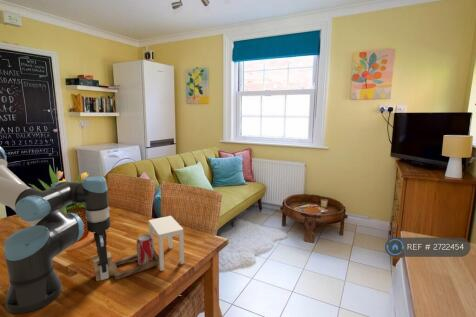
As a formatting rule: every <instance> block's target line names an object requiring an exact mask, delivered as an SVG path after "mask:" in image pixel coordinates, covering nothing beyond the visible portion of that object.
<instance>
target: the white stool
mask: <svg viewBox="0 0 476 317" xmlns="http://www.w3.org/2000/svg"><path fill="white" fill-rule="evenodd" d="M148 235H150V236H151V238H152V240H153V248H154V249H155V238H154V236H156V237H157V241H158V244H157V245H158V256H159V265H158V267H159V271H161V272H162V271H164V270H165V254H164V252H165V251H164V239H167V238H168V239H167V240H168V249H173V248H174V245H173V243H174V242H173V241H174V239H173V237H175V236H178V245H179V246H178V249H179V250H178V253H179V254H178V255H179V264H180V265H184V264H185V236H184V235H185V234H184V228H183V227H182V225H180V223H179V222H177V220H176V219H175V218H174V217H173V216H172V215H167V216H163V217H159V218H158V217H157V218H153V219H149V220H148Z"/></svg>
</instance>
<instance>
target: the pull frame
mask: <svg viewBox="0 0 476 317" xmlns="http://www.w3.org/2000/svg"><path fill="white" fill-rule="evenodd" d="M153 258H154V261H152V262H149V263H146V264H143V265H140V266H139V265H137V266H134V267H132V268H128V269H126V270H122V271H121V272H119V270H118V267H117V266H120V265H123V264H126V263H128V262H131V261H135V260H138V258H137V253H135V254H131V255H129V256H126V257H121V258H119V259H117V260H114V261H113V260H112V254H111V251H107V260H108V274H109V277H113V276H114V280H116V281H117V280H121V279H123V278H125V277H128V276H131V275H134V274H137V273H139V272H142V271H145V270H147V269H150V268H153V267H157V266H159V254H158V253H157V252H156V250H155V247H154V248H153ZM92 261H93V269H94V275H95V280H96V282H98V281H102V280H101V277H100V267H99V266H98V265H97V264H99V263H100V262H99V255H98V254H97V255H94V256H92Z"/></svg>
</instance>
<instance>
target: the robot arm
mask: <svg viewBox="0 0 476 317" xmlns="http://www.w3.org/2000/svg"><path fill="white" fill-rule="evenodd" d="M5 153H6V152H5V150H4V147H2V146H0V204H1V205H4V206H7V207H9V208H11V209H12V210H13V211H14V212H15V214H16V215H17V217H19V218H20V219H21V220H22V221H24V222H26V223H28V225H30V226H27V227H26V228H25V227H24V228H22V229H21V228H20V230H17V231H15V232H13V233H12V234H10V235H9V236H8V237H7V238H6V240H5V242H4V243H3V244H4V245H3V246H4V247H3V249H4V252H3V254H4V258H5V263H6V267H7V276H8V279H9V285H8V289H7V293H6V297H5V301H4V302H5V308H6V311H7V312H8V313H12V314H25V313H29V312H33V311H36V310H39V309H41V308H43V307H46V306H48V305H49V304H50V303H52V302H54V301H55V300H56V299H57V298H58V297H59V296H60V294H61V293H62V291H63V286H62V281H61V279H60V277H59V276H58V275H57V273H56V271H55V269H54V264H53V263H54V262H53V259H54V258H55V257H56V256H58V255H60V254H61V253H62V252H64V251H65V250H67V249H68V248H69V247H72V246H73V245H74V244H76V242H78V241H79V240H80V239H81V238H82V236H83V234H84V232H85V228H84V227H85V225H84V222H83V220H82V218H81V217H80V216H79V215H78V214H76V213H74V212H67V213H65V211H63V210H62V208H64V207H67V206H69V205H70V204H84V208H85V218H86V226H87V231H89V233H93V238H94V243H95V247H96V254H97V256H98V255H99V262H100V263H99V264H97V265H98V266H99V267H100V277H101V280H100V281H103V280H107V279H109V274H108V260H107V252H108V250H107V245H108V244H107V242H108V241H107V238H108V237H107V235H108V234H107V232H106V230H108V229H110V227H111V218H110V211H111V207H109V195H108V184H107V180H106V177H104V176H98V175H97V176H89V177H85V178H84V179H83V180H82V182H74V181H58V182H54V183H53V184H52V186H50V187H49V188H48V189H45V190H38V189H37V188H33V187H30V186H28V185H27V184H26V183H25V182H24V181H22V179H20V178H19V177H18V176H17V175H16V174H14V172H13V171H11V170H10V169H9V168H8V161H7V155H6V154H5Z"/></svg>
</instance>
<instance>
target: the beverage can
mask: <svg viewBox="0 0 476 317" xmlns="http://www.w3.org/2000/svg"><path fill="white" fill-rule="evenodd" d="M136 254H137V258H138V259H137V266H140V265H143V264H146V263H149V262H152V261H154V258H153V240H152V238H151V236H150V235H149V234H142V235H140V236H138V238H137V240H136Z"/></svg>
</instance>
